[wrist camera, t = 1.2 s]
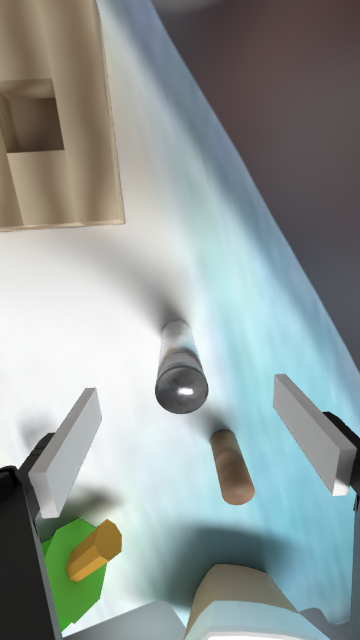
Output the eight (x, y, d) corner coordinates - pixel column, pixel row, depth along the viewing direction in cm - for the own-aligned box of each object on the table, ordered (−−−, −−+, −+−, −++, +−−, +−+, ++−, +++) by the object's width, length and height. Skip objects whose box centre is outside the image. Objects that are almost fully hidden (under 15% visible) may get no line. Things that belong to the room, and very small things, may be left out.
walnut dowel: (210, 452, 35) (222, 506, 27) (210, 431, 34) (221, 481, 26) (235, 449, 35) (254, 503, 27) (236, 428, 34) (255, 478, 26)
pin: (162, 350, 30) (157, 416, 18) (160, 321, 29) (152, 369, 16) (193, 347, 30) (209, 411, 18) (191, 318, 29) (207, 365, 17)
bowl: (154, 613, 46) (150, 715, 36) (197, 532, 40) (206, 627, 30) (257, 629, 49) (280, 726, 39) (310, 556, 43) (354, 648, 33)
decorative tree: (111, 625, 26) (-44, 742, 30) (145, 536, 37) (30, 628, 41) (56, 539, 28) (-84, 658, 31) (104, 478, 39) (-2, 571, 43)
